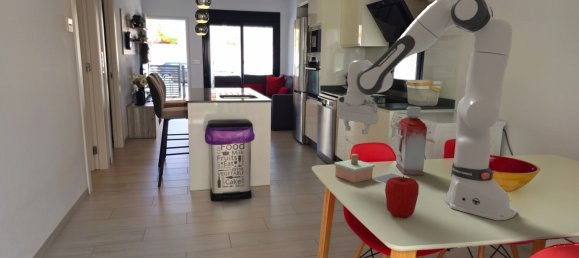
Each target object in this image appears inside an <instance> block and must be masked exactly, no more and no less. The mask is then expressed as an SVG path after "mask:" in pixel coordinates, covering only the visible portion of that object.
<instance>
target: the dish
mask: <svg viewBox="0 0 579 258" xmlns="http://www.w3.org/2000/svg"><path fill="white" fill-rule="evenodd" d="M373 169H374V168H370V169H365V170H361V171H357V172H354V171H351V170H347V169H344V168H341V167H338V166H335V174H334V176H335V177H336V178H339V179H342V180H344V181H347V182H350V183H353V184H356V183H360V182H363V181H368V180H371V179H372V178H373Z"/></svg>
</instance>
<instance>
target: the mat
mask: <svg viewBox="0 0 579 258" xmlns="http://www.w3.org/2000/svg"><path fill="white" fill-rule="evenodd" d="M393 177H403V175H402V176H401V175H399V174H398V175H397V174H395V173H392V172H390V173H389V174H384V175H379V176H376V177H372V179H373V180H376V181H379V182H381V183H384V184H386V182H387V181H388V180H389V179H390V178H393Z"/></svg>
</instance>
